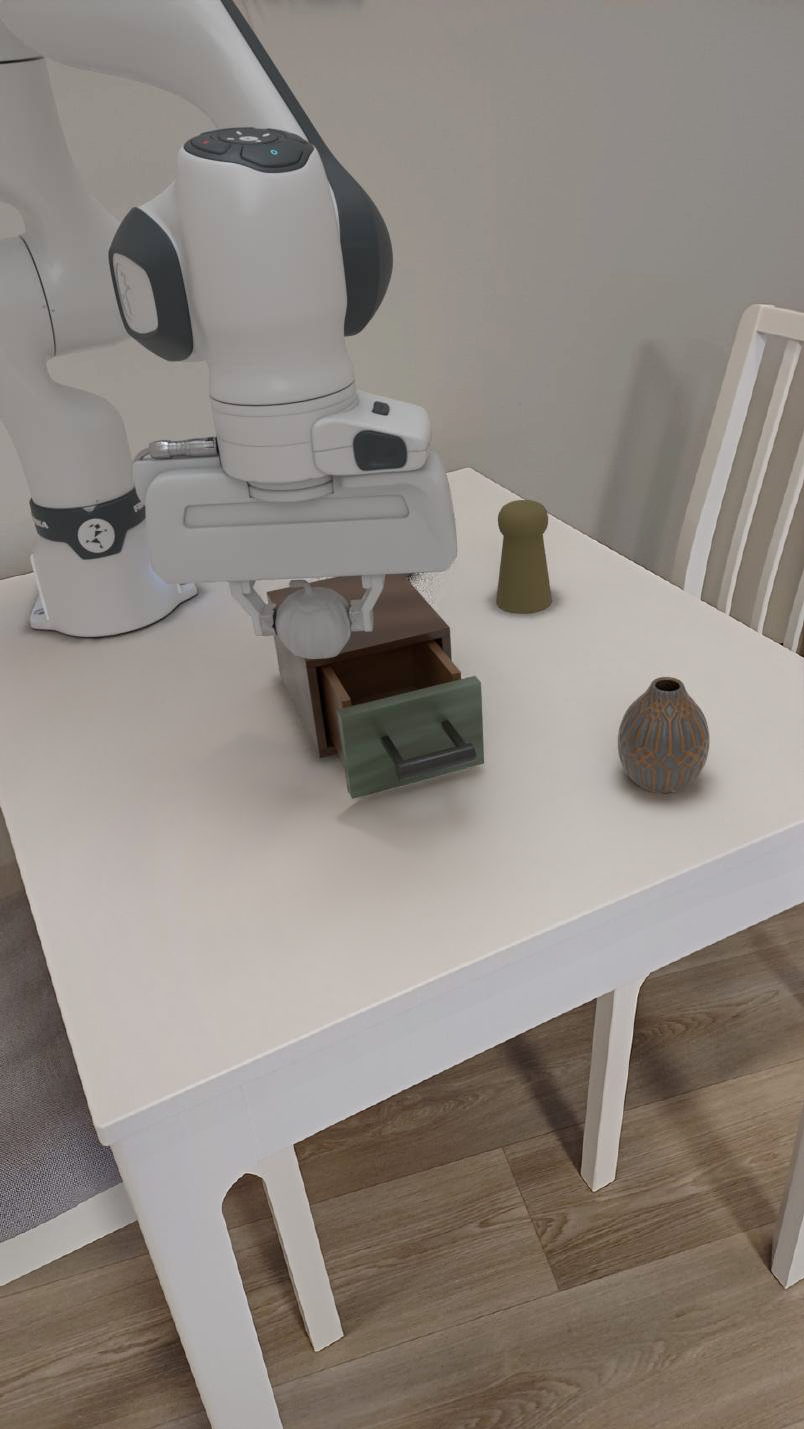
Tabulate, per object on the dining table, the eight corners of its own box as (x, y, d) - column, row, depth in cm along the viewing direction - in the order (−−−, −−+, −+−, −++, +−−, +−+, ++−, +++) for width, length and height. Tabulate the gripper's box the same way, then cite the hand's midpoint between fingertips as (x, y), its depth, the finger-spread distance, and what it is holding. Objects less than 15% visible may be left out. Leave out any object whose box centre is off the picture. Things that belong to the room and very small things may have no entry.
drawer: (511, 799, 77) (509, 714, 73) (371, 838, 74) (361, 753, 70) (427, 687, 92) (421, 612, 88) (309, 716, 89) (297, 640, 85)
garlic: (266, 644, 71) (255, 578, 68) (335, 624, 73) (327, 558, 70) (297, 680, 66) (286, 610, 64) (370, 657, 68) (362, 589, 65)
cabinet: (455, 723, 88) (450, 627, 83) (319, 758, 85) (305, 661, 80) (402, 651, 100) (394, 564, 95) (280, 680, 97) (266, 591, 92)
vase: (641, 744, 83) (647, 653, 79) (720, 771, 79) (731, 676, 75) (600, 785, 79) (603, 691, 74) (680, 816, 75) (689, 718, 70)
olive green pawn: (549, 614, 105) (550, 515, 99) (492, 612, 106) (489, 515, 100) (554, 589, 109) (554, 493, 104) (499, 588, 111) (496, 493, 105)
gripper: (110, 459, 60) (157, 658, 67) (450, 439, 58) (460, 646, 65) (138, 427, 65) (180, 615, 72) (451, 408, 63) (460, 603, 71)
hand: (315, 630), depth 69 cm, fingers closed on garlic, 5 cm apart
